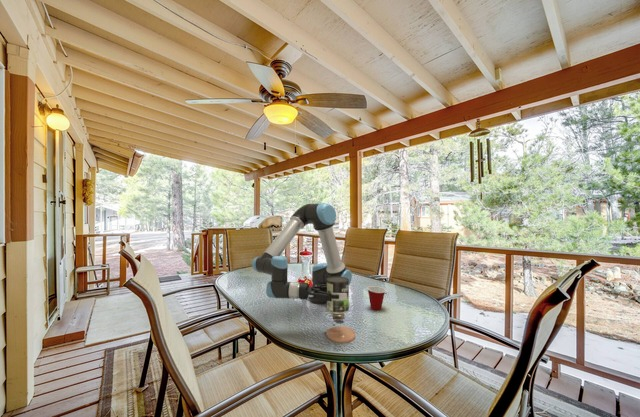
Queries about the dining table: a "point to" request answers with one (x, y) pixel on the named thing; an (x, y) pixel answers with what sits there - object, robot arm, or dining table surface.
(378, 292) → the plastic cup
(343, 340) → the dish
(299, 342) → the dining table surface
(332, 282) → the coffee can
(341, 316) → the balance
